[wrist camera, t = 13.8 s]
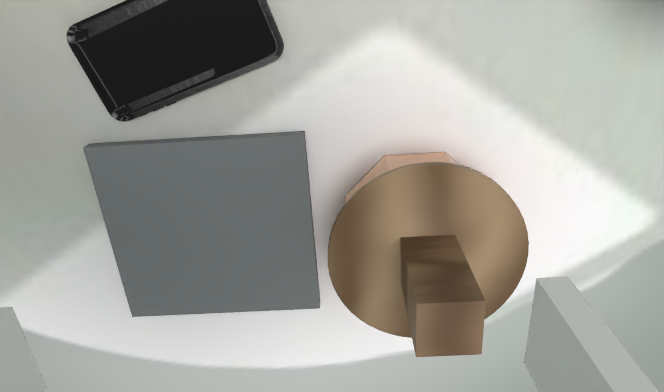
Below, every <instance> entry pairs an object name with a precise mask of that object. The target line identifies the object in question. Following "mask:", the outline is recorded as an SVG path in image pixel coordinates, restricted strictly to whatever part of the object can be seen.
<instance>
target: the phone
mask: <svg viewBox="0 0 664 392" xmlns="http://www.w3.org/2000/svg"><path fill="white" fill-rule="evenodd" d="M67 41H68V44H69V46H70V48H71V49H72V51H73V53H74V54H75V56H76V58H77V59H78V61H79V63H80V65H81V66H82V68H83V70H84V71H85V73H86V75H87V76H88V78H89V80H90V82H91V83H92V85H93V87H94V88H95V90H96V92H97V94H98V95H99V97H100V99H101V100H102V102H103V104H104V105H105V107H106V109H107V111H108V112H109V113H110V115H111V116H112V117H113V118H115V119H117V120H119V121H128V120H131V119H134V118H136V117H138V116H142V115H145V114H147V113H148V112H151V111H155V110H158V109H160V108H163V107H164V106H165V105H166V106H168V105H171V104H173V103H175V102H176V101H178V100H180V99H183V98H185V97H187V96H190V95H192V94H195V93H197V92H200V91H202V90H205V89H207V88H210V87H212V86H214V85H217V84H219V83H222V82H224V81H227V80H229V79H232V78H234V77H237V76H239V75H241V74H244V73H246V72H249V71H251V70H254V69H256V68H259V67H261V66H263V65H266V64H268V63H271V62H273V61H275V60H277V59H278V58H279V57H280V55H281V54H282V52H283V48H284V44H283V40H282V37H281V35H280V32H279V30H278V27H277V25H276V23H275V20H274V18H273V15H272V13H271V10H270V8H269V6H268V3H267V1H266V0H126V1H124V2H122V3H120V4H117V5H115V6H113V7H111V8H109V9H106V10H104V11H102V12H100V13H98V14H95V15H93V16H91V17H89V18H87V19H84V20H82V21H80V22H78V23H76V24H73V25H72V26H71V27H70V28H69V29H68V31H67Z"/></svg>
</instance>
